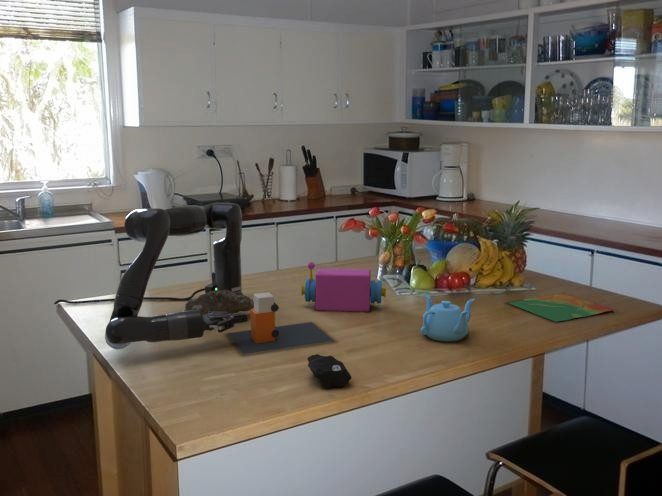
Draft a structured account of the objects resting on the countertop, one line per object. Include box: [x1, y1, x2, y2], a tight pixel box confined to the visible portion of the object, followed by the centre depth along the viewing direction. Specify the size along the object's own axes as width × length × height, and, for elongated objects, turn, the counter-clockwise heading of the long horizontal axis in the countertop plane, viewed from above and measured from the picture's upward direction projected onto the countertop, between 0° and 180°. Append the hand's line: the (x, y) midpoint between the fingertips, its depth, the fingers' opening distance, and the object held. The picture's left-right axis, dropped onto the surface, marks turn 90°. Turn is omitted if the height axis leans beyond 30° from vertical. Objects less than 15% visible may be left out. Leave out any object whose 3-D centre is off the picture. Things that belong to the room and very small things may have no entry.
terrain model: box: [508, 292, 615, 323], centre depth 218 cm, size 25×22×1 cm
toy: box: [300, 261, 387, 313], centre depth 217 cm, size 28×9×15 cm, turn 85°
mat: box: [227, 321, 335, 355], centre depth 188 cm, size 26×18×1 cm
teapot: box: [420, 293, 476, 342], centre depth 190 cm, size 15×15×10 cm
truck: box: [249, 291, 280, 343], centre depth 185 cm, size 7×5×13 cm
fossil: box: [183, 290, 254, 315], centre depth 203 cm, size 22×10×15 cm
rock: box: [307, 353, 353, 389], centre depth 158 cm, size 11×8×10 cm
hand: (246, 317), depth 183 cm, fingers closed
